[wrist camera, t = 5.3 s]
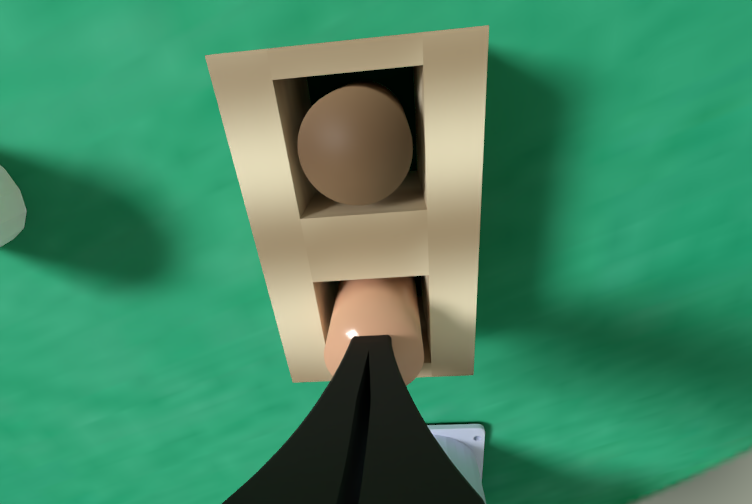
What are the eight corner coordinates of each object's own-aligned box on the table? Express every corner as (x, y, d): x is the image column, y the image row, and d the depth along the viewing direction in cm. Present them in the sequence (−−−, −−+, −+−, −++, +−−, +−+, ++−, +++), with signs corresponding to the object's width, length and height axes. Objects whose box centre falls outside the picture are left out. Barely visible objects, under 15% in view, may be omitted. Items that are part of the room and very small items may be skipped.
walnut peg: (408, 164, 16) (415, 201, 12) (328, 171, 17) (308, 209, 12) (404, 75, 15) (410, 82, 10) (315, 84, 15) (287, 94, 11)
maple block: (455, 306, 20) (473, 374, 16) (313, 314, 21) (292, 382, 16) (458, 36, 14) (488, 25, 10) (259, 56, 15) (205, 55, 10)
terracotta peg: (417, 313, 18) (425, 391, 14) (344, 317, 18) (331, 395, 14) (413, 249, 16) (422, 314, 12) (334, 254, 17) (316, 320, 12)
